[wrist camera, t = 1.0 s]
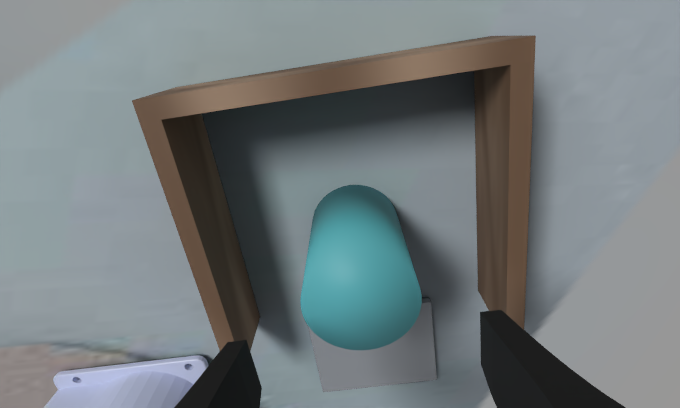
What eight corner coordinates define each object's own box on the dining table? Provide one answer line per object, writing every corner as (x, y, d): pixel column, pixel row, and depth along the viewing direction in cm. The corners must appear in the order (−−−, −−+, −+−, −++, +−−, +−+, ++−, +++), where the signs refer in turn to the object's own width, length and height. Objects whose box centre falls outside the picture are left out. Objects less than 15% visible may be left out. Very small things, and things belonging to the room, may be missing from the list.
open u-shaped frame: (246, 318, 23) (227, 373, 19) (175, 87, 18) (131, 100, 14) (492, 288, 22) (523, 339, 18) (492, 36, 17) (535, 35, 13)
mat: (323, 386, 25) (323, 392, 24) (306, 312, 22) (306, 317, 22) (435, 374, 24) (436, 379, 24) (429, 297, 22) (430, 302, 22)
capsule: (320, 266, 21) (312, 356, 15) (305, 191, 20) (289, 259, 14) (401, 256, 21) (425, 343, 15) (393, 179, 19) (417, 242, 13)
